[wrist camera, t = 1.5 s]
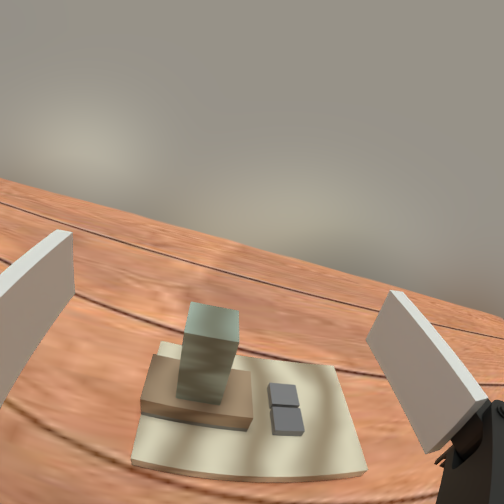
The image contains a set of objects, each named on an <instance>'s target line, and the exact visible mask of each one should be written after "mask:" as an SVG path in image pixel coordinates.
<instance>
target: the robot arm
mask: <svg viewBox="0 0 504 504" xmlns="http://www.w3.org/2000/svg"><path fill="white" fill-rule="evenodd" d="M74 294H75V284H74V267H73V232H68V231H63V230H58V229H57V230H55V231H54V232H53V233H51V234H50V235H49V236H47V237H46V238H45V239H43V240H42V241H41V242H39V243H38V244H37V245H35V246H34V247H33V248H32V249H30V250H29V251H28V252H26V253H25V254H24V255H23V256H22V257H20V258H19V259H18V260H17V261H15V262H14V263H13V264H12V265H11V266H9V267H8V268H7V269H6V270H5V271H4V272H2V273H1V274H0V408H1V406H2V404H3V402H4V400H5V399H6V397H7V395H8V393H9V392H10V390H11V388H12V386H13V385H14V383H15V381H16V380H17V378H18V376H19V375H20V373H21V371H22V370H23V368H24V366H25V365H26V363H27V362H28V360H29V358H30V357H31V355H32V354H33V352H34V351H35V349H36V348H37V346H38V345H39V343H40V342H41V340H42V339H43V337H44V336H45V334H46V333H47V331H48V330H49V328H50V327H51V326H52V324H53V323H54V321H55V320H56V319H57V317H58V316H59V314H60V313H61V312H62V310H63V309H64V308H65V306H66V305H67V303H68V302H69V301H70V299H71V298H72V297H73V296H74ZM366 342H367V343H368V345H369V347H370V349H371V351H372V352H373V354H374V356H375V358H376V360H377V361H378V363H379V365H380V367H381V369H382V370H383V372H384V374H385V376H386V378H387V380H388V382H389V383H390V385H391V387H392V389H393V391H394V393H395V395H396V397H397V398H398V400H399V402H400V404H401V406H402V408H403V410H404V412H405V414H406V416H407V418H408V420H409V422H410V424H411V426H412V428H413V430H414V432H415V434H416V436H417V438H418V440H419V442H420V444H421V446H422V448H423V450H424V452H425V454H428V453H431V452H435V451H438V450H440V449H441V448H442V447H443V446H444V445H445V444H446V443H447V442H448V441H449V440H450V439H451V441H452V443H453V445H452V446H451V447H450V448H449V449H448V450H447V451H446V452H444V453H443V454H442V455H441V456H440V457H439V458H438V459H437V460H436V461H435V463H434V464H436V465H437V464H438V463H439V462H440V461H441V460H443V459H446V460H445V461H444V462H443V463H442V464H441V465H440V466H441V467H443V468H444V471H443V476H442V480H441V485H440V489H439V493H438V497H437V501H436V504H504V402H503V401H500V400H494V401H493V402H492V403H491V402H490V400H489V399H488V397H487V395H486V394H485V392H484V391H483V390H482V388H481V387H480V386H479V384H478V383H477V382H476V380H475V379H474V378H473V376H472V375H471V374H470V372H469V371H468V370H467V368H466V367H465V366H464V364H463V363H462V362H461V361H460V359H459V358H458V357H457V355H456V354H455V353H454V352H453V350H452V349H451V348H450V347H449V345H448V344H447V343H446V342H445V340H444V339H443V338H442V337H441V336H440V334H439V333H438V332H437V331H436V330H435V328H434V327H433V326H432V325H431V324H430V323H429V321H428V320H427V319H426V318H425V317H424V316H423V314H422V313H421V312H420V311H419V310H418V309H417V307H416V306H415V305H414V304H413V303H412V302H411V301H410V300H409V298H408V297H407V296H406V295H405V294H404V293H403V292H400V291H393V290H390V291H389V293H388V295H387V297H386V299H385V302H384V304H383V306H382V308H381V310H380V312H379V314H378V316H377V318H376V320H375V322H374V324H373V326H372V328H371V330H370V332H369V334H368V336H367V338H366Z"/></svg>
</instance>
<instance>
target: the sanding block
mask: <svg viewBox="0 0 504 504" xmlns="http://www.w3.org/2000/svg"><path fill="white" fill-rule="evenodd" d="M238 345H239V311H237V310H232V309H226V308H221V307H216V306H211V305H205V304H200V303H195V302H191V304H190V308H189V313H188V317H187V322H186V326H185V331H184V337H183V344H182V351H181V358H180V360H179V359H174V358H169V357H165V356H160V355H156V354H153V357H152V360H151V364H150V367H149V370H148V374H147V377H146V381H145V384H144V388H143V391H142V395H141V399H140V402H141V415H145V416H149V417H154V418H158V419H163V420H168V421H173V422H178V423H184V424H189V425H196V426H202V427H209V428H216V429H224V430H233V431H243V432H247V430H248V428H249V426H250V424H251V422H252V420H253V403H252V387H251V371H244V370H237V369H231V368H232V365H233V361H234V358H235V355H236V351H237V348H238Z"/></svg>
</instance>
